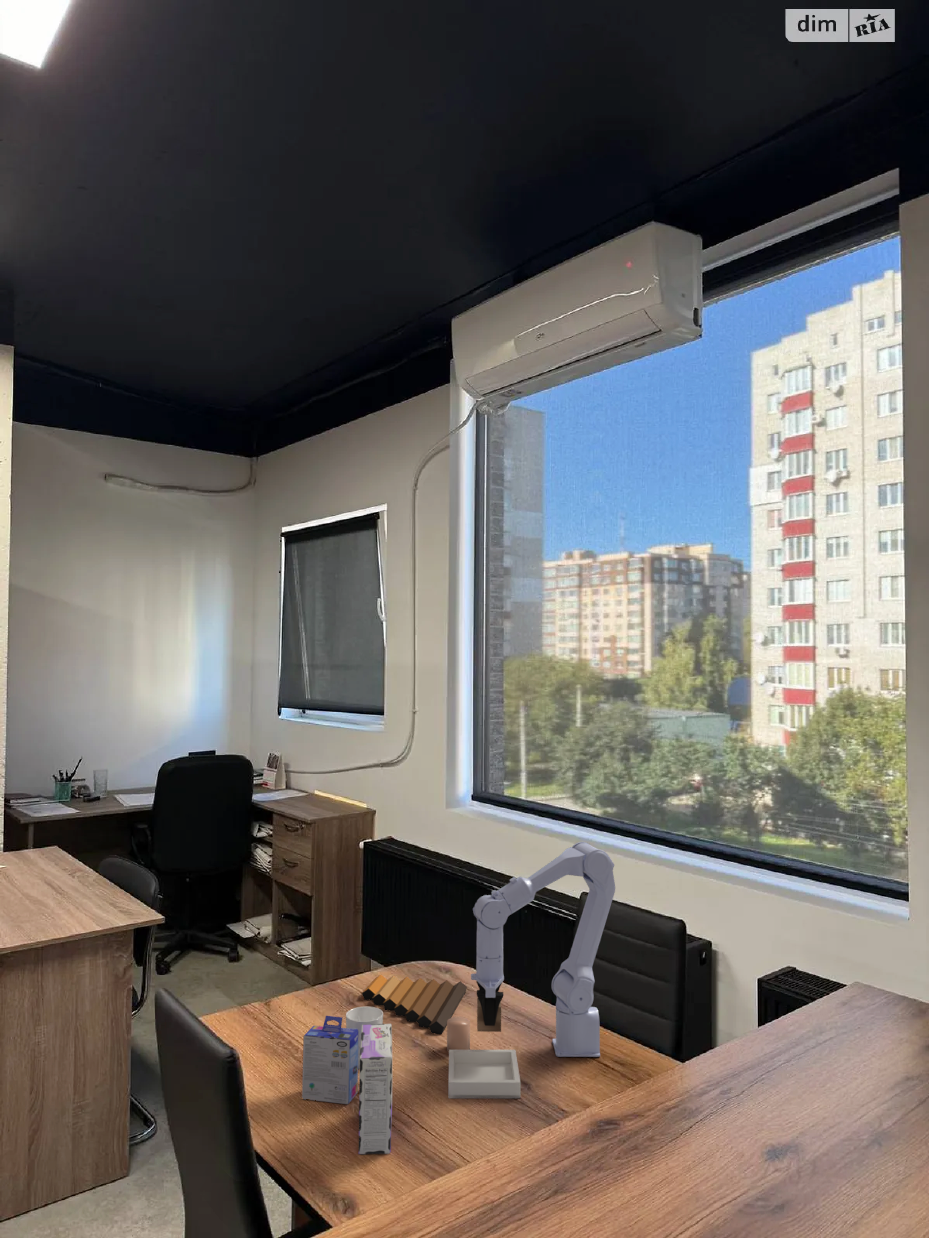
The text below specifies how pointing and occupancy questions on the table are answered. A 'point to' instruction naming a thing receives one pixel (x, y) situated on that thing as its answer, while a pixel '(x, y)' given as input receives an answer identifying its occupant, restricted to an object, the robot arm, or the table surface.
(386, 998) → the pan flute
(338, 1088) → the ink cartridge box
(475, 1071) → the off-white tray
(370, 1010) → the white cup
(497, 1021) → the walnut cube
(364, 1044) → the candy box
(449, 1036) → the beige rounded cylinder
